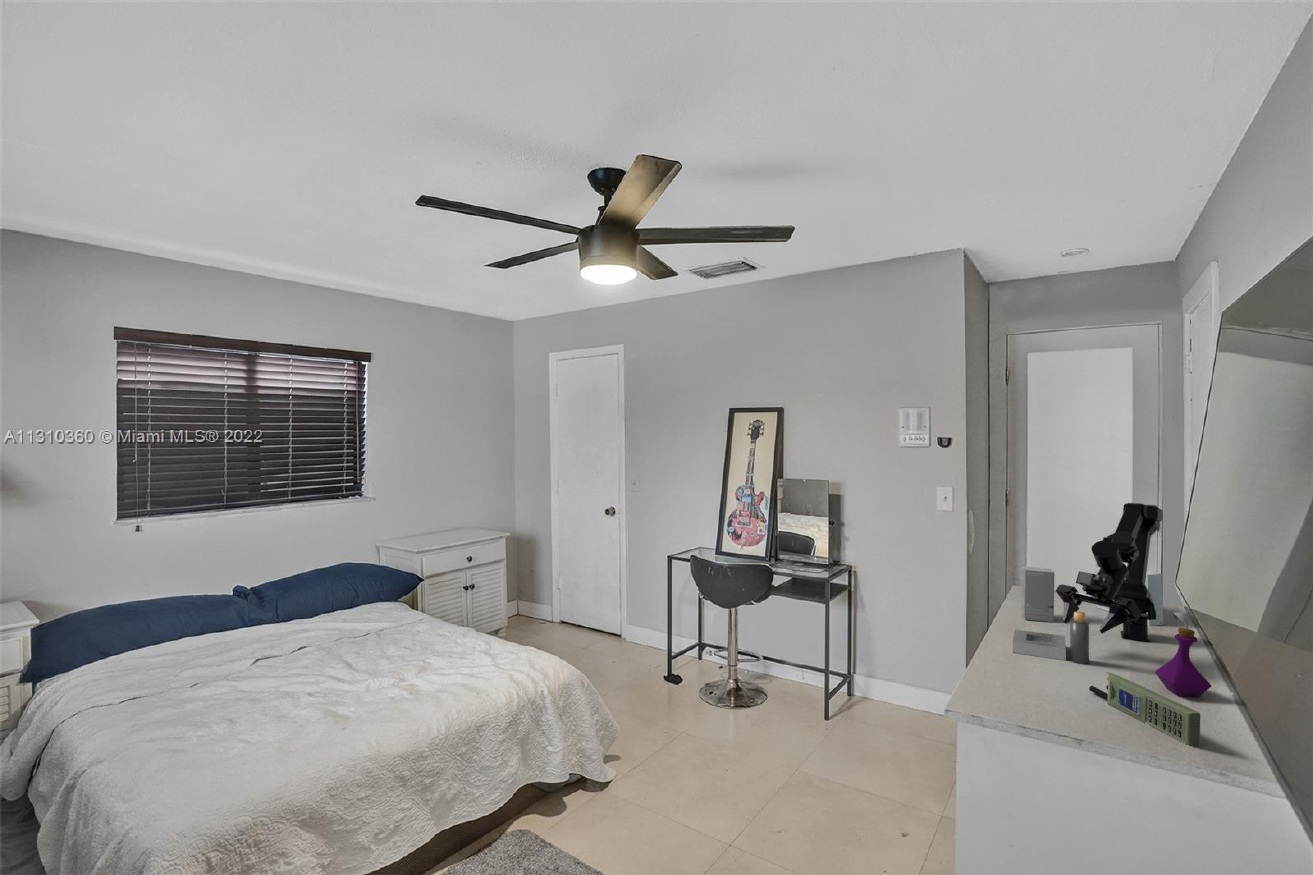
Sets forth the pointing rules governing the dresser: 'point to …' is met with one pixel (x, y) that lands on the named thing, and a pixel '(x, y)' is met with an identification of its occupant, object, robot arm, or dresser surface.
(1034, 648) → the socket plate
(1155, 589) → the skincare box
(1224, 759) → the dresser surface
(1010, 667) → the dresser surface
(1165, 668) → the perfume bottle
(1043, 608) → the skincare box
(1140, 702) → the handheld radio
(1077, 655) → the plug
